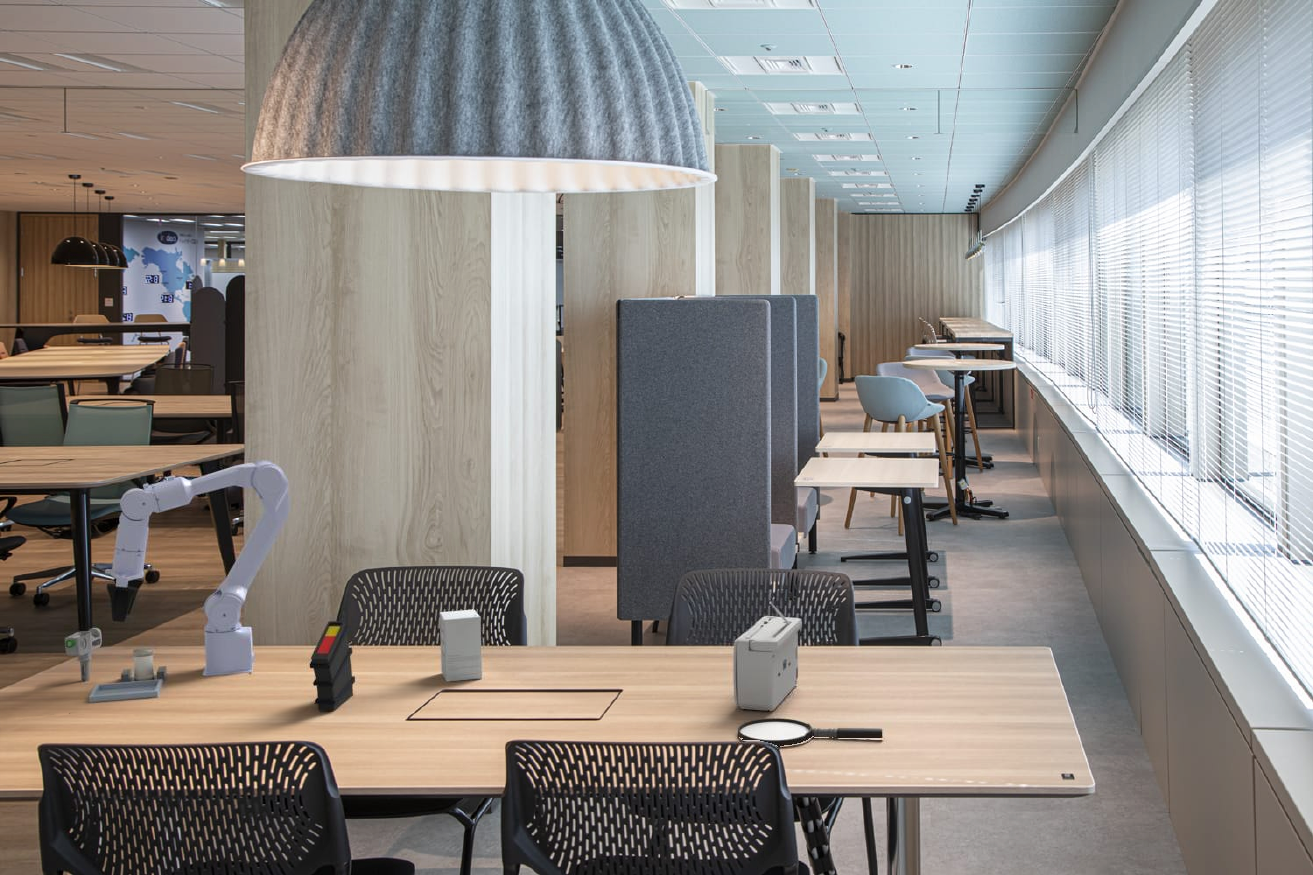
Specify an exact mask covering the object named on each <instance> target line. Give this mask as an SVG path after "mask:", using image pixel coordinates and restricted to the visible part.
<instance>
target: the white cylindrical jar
mask: <svg viewBox="0 0 1313 875" xmlns="http://www.w3.org/2000/svg"><path fill="white" fill-rule="evenodd" d="M132 656H133V675H134V676H133V677H134V681H146V680H153V679H154V675H155V671H154V670H155V668H154V667H155V666H154V648H153V647H144V646H143V647H140V648H139V647H138V648H135V649H133V650H132Z"/></svg>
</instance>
